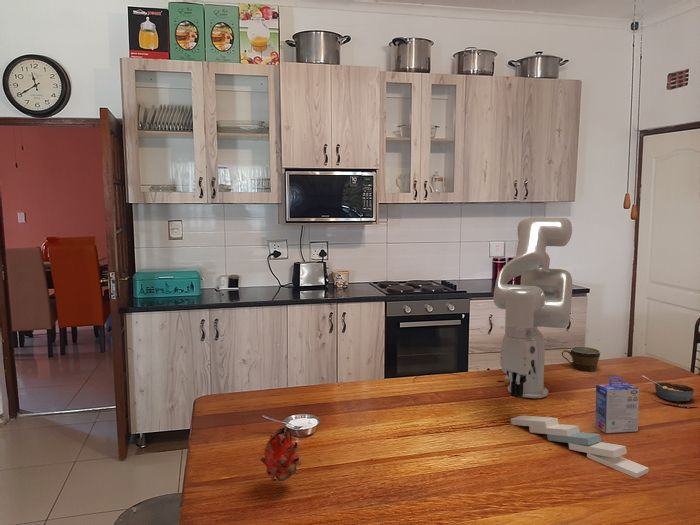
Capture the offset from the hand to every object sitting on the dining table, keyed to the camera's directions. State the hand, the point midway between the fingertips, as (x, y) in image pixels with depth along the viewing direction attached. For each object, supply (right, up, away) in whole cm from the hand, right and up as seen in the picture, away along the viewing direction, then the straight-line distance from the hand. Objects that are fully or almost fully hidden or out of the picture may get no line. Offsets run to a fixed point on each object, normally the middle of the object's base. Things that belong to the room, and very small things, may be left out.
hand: (516, 396), depth 145 cm
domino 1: (0, -7, 0) cm, 7 cm away
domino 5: (+12, -9, -20) cm, 25 cm away
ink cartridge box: (+26, -8, -4) cm, 28 cm away
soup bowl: (+55, -7, +17) cm, 58 cm away
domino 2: (+4, -7, -5) cm, 10 cm away
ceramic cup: (+38, -4, +44) cm, 58 cm away
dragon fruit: (-63, -10, -33) cm, 72 cm away
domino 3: (+7, -8, -10) cm, 14 cm away
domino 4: (+10, -8, -15) cm, 20 cm away
